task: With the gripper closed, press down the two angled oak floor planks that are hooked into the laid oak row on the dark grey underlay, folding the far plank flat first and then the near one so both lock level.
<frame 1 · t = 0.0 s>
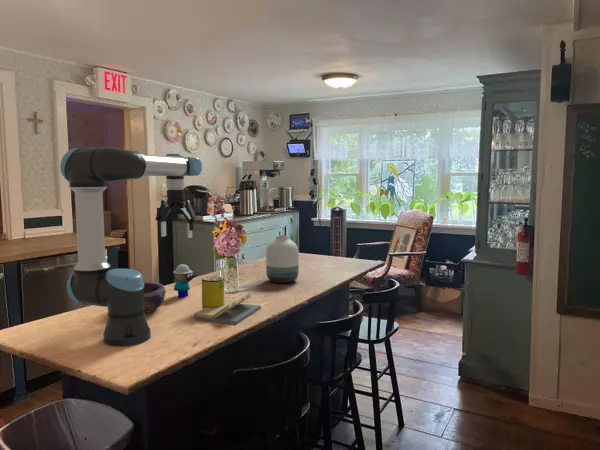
hand: (176, 237, 205), 28 cm above the countertop, fingers open, 13 cm apart
beverage can: (213, 307, 191), point 1 cm above the countertop, touching underlay
bowl: (143, 311, 190), on the countertop
plank far: (242, 300, 190), point 4 cm above the countertop, hinge at 35.0°
plank near: (228, 307, 179), point 4 cm above the countertop, hinge at 35.0°
underlay: (229, 313, 186), on the countertop
vase: (282, 281, 243), on the countertop
toy: (183, 296, 212), on the countertop
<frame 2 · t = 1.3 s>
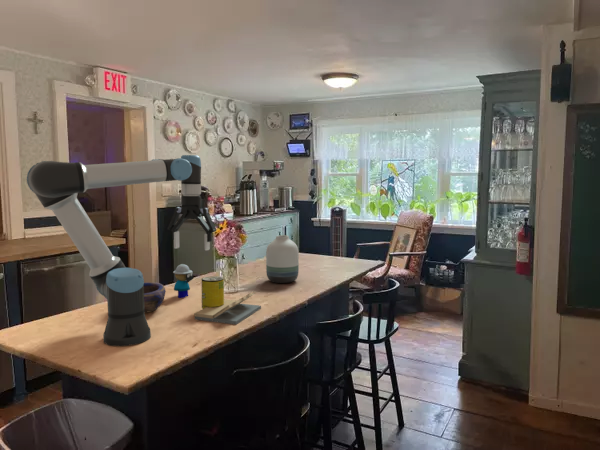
hand: (191, 249, 182), 26 cm above the countertop, fingers open, 13 cm apart
nothing on the countertop moved.
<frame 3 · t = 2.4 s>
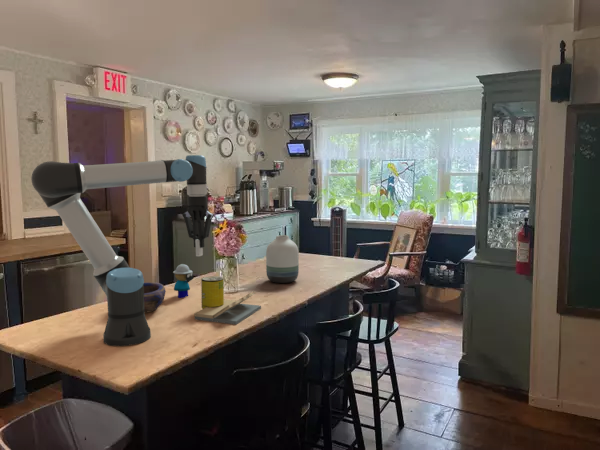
hand: (199, 255, 181), 24 cm above the countertop, fingers closed
nothing on the countertop moved.
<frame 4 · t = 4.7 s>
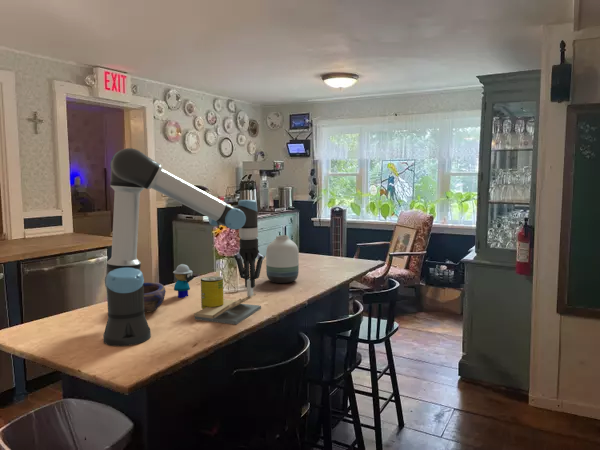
hand: (250, 295, 189), 7 cm above the countertop, fingers closed
plank far: (242, 300, 190), point 4 cm above the countertop, hinge at 30.0°, touching gripper
everything else where it was.
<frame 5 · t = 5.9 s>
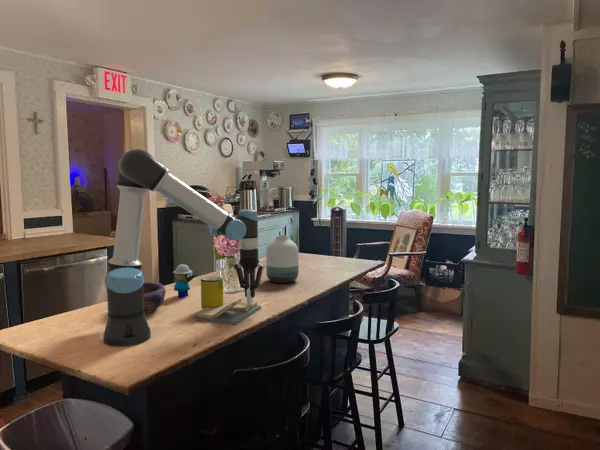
hand: (250, 304, 189), 3 cm above the countertop, fingers closed
plank far: (243, 305, 190), point 2 cm above the countertop, hinge at 1.4°, touching gripper
everything else where it was.
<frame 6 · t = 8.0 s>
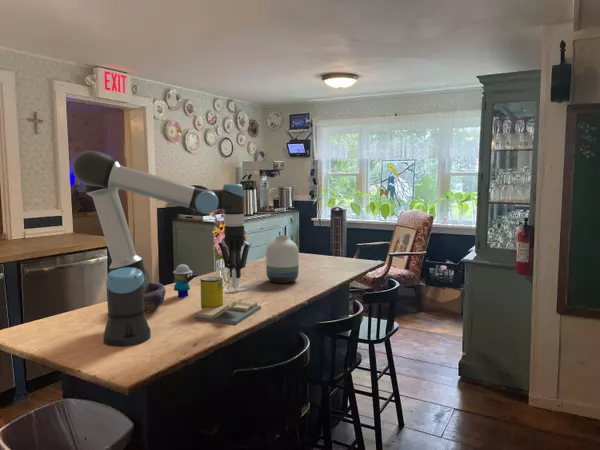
hand: (235, 286, 177), 13 cm above the countertop, fingers closed
plank far: (243, 305, 190), point 2 cm above the countertop, hinge at 1.2°
everything else where it was.
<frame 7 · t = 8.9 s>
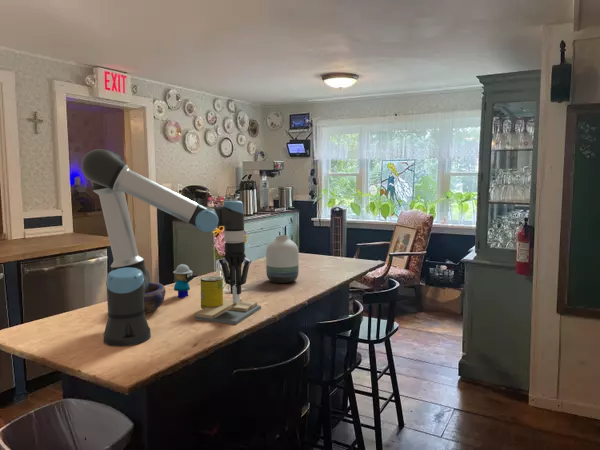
hand: (236, 302, 178), 7 cm above the countertop, fingers closed
plank near: (228, 308, 179), point 4 cm above the countertop, hinge at 32.2°, touching gripper
everything else where it was.
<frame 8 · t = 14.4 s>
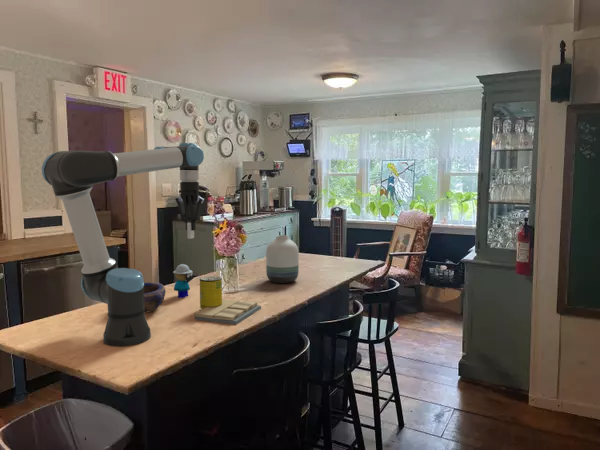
hand: (190, 238, 192), 29 cm above the countertop, fingers closed
plank near: (229, 314, 179), point 2 cm above the countertop, hinge at 1.1°
everything else where it was.
at the end: plank far at +1° (first picture: +35°); plank near at +1° (first picture: +35°) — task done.
